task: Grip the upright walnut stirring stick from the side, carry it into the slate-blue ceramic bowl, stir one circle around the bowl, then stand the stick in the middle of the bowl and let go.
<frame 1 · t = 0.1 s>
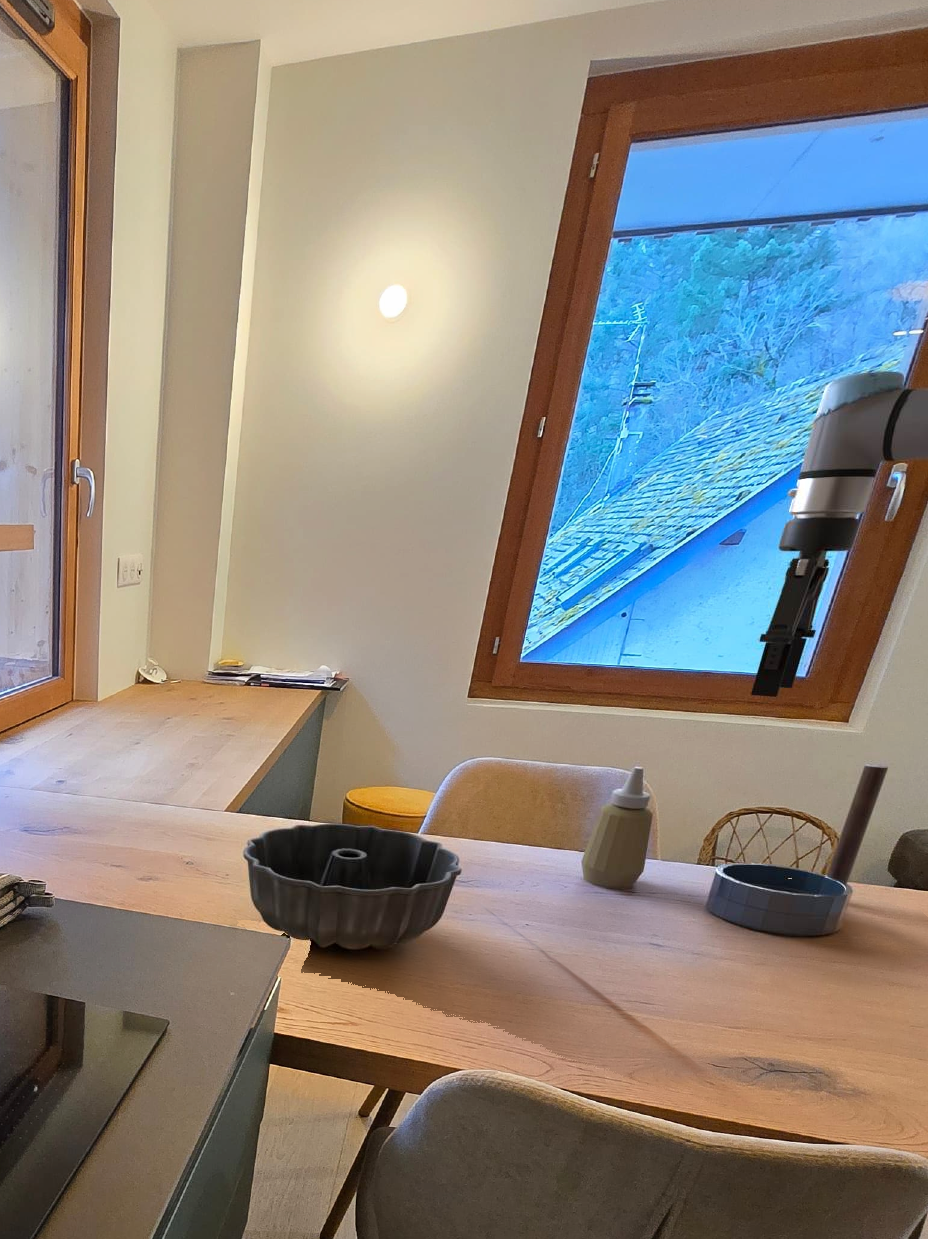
hand: (771, 691, 128), 29 cm above the table, tool pointing down, fingers open, 13 cm apart
bundt pan: (339, 925, 126), on the table
squeeze bottle: (605, 888, 141), on the table
bowl: (768, 921, 129), on the table
stirring stick: (826, 908, 134), on the table
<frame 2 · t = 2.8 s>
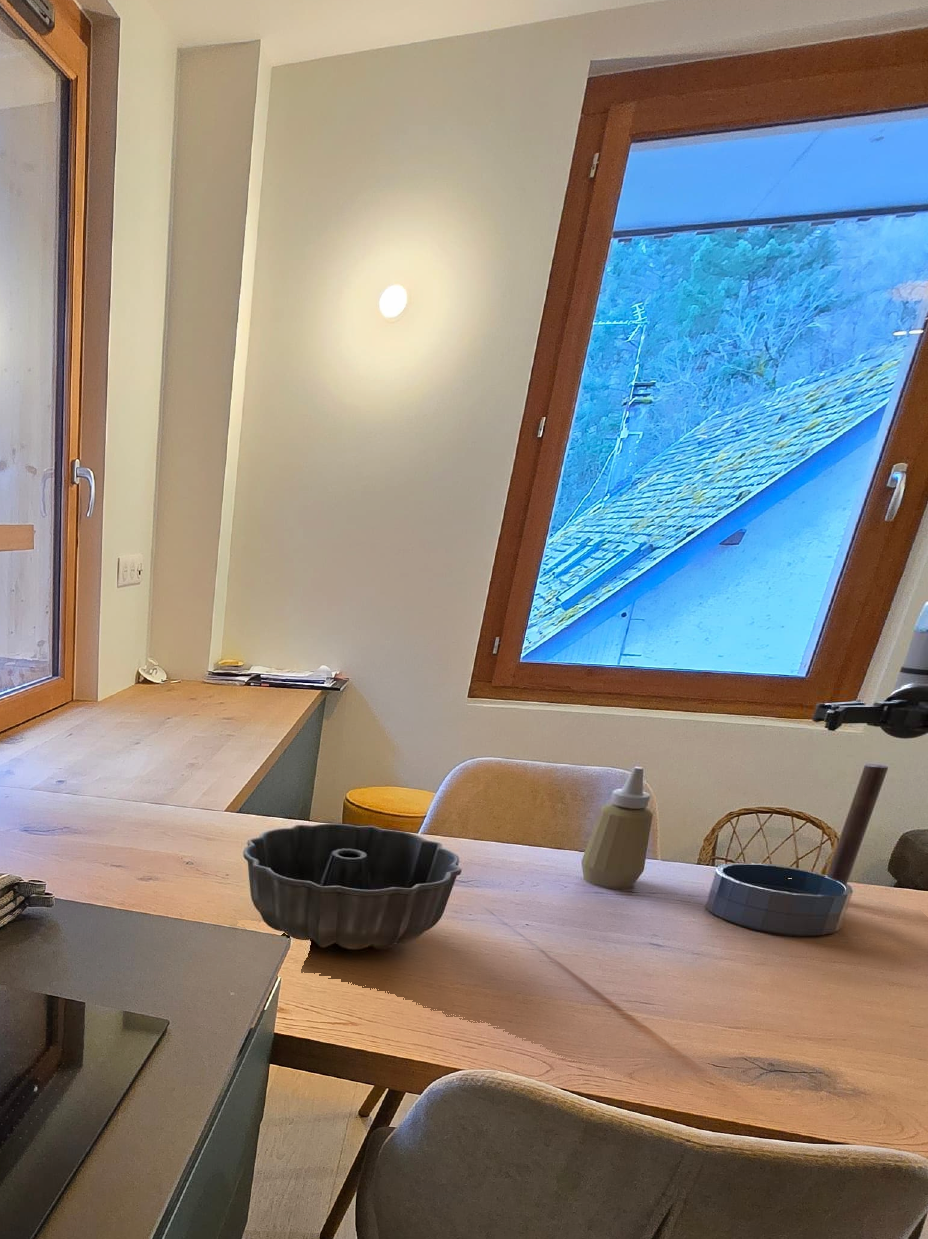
hand: (896, 727, 130), 24 cm above the table, tool horizontal, fingers open, 13 cm apart
nothing on the table moved.
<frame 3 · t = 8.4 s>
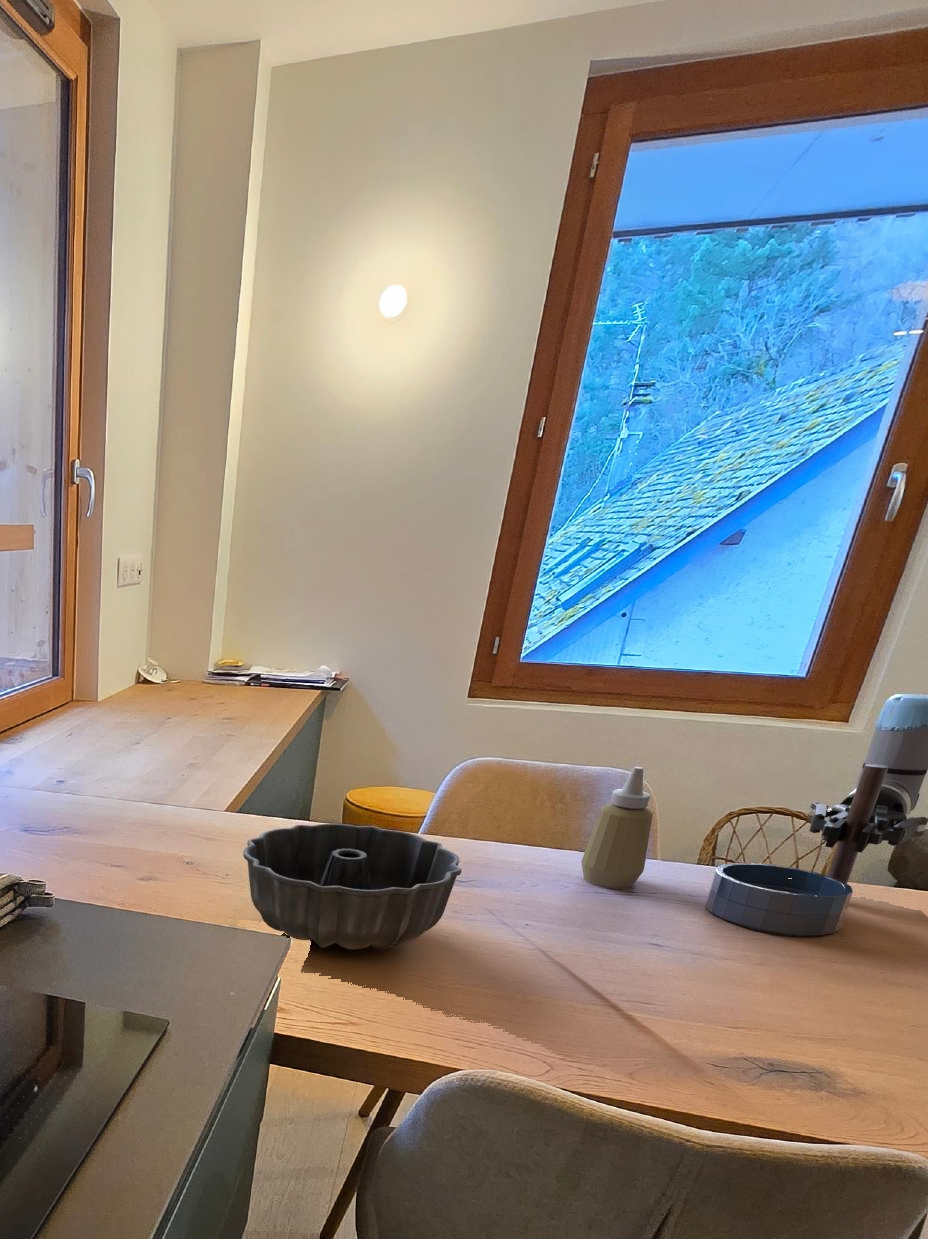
hand: (846, 839, 126), 11 cm above the table, tool horizontal, fingers closed on stirring stick, 2 cm apart
stirring stick: (826, 908, 134), on the table, touching gripper
everything else where it was.
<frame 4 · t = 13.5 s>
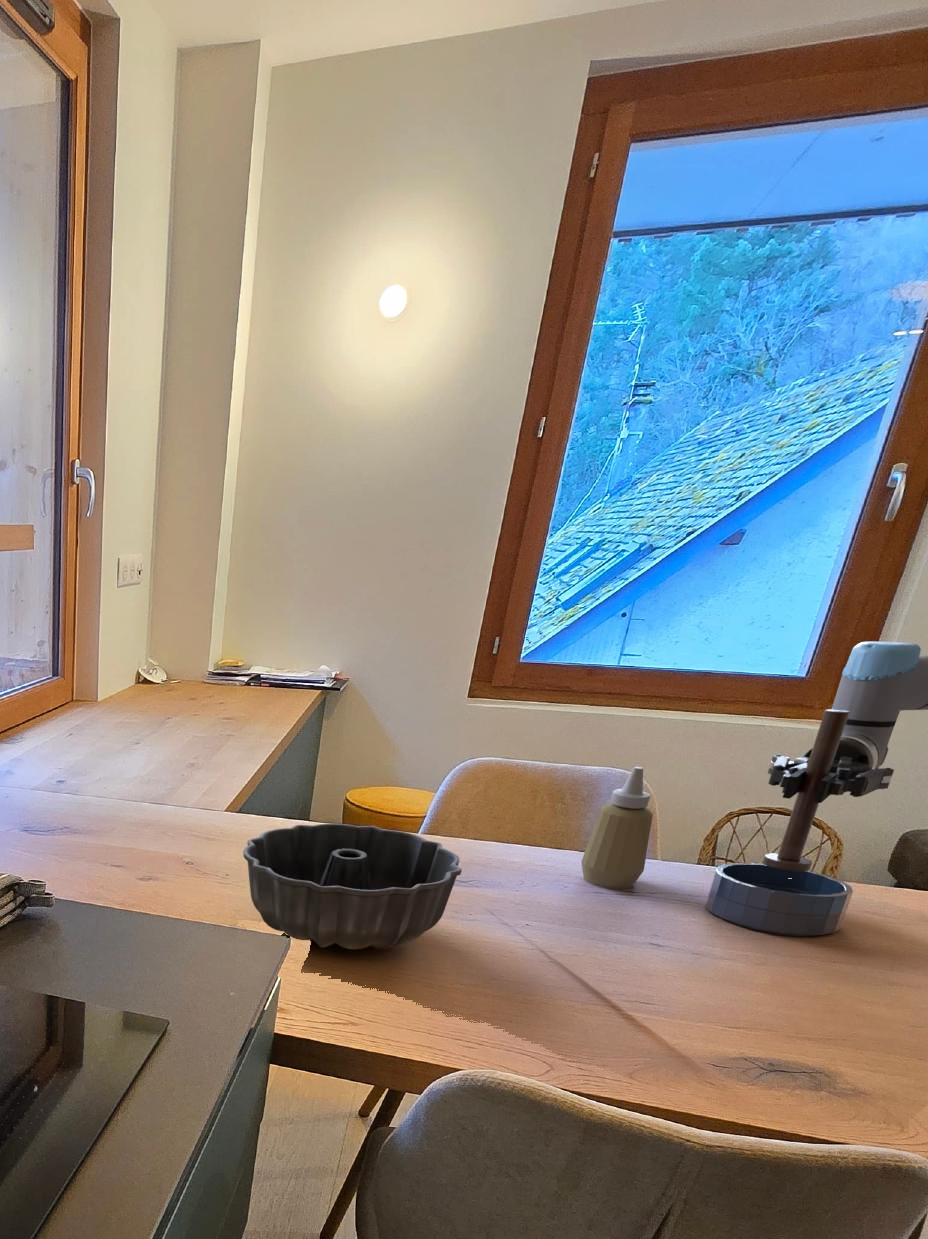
hand: (805, 789, 118), 19 cm above the table, tool horizontal, fingers closed on stirring stick, 2 cm apart
stirring stick: (786, 865, 126), point 8 cm above the table, touching gripper
everything else where it was.
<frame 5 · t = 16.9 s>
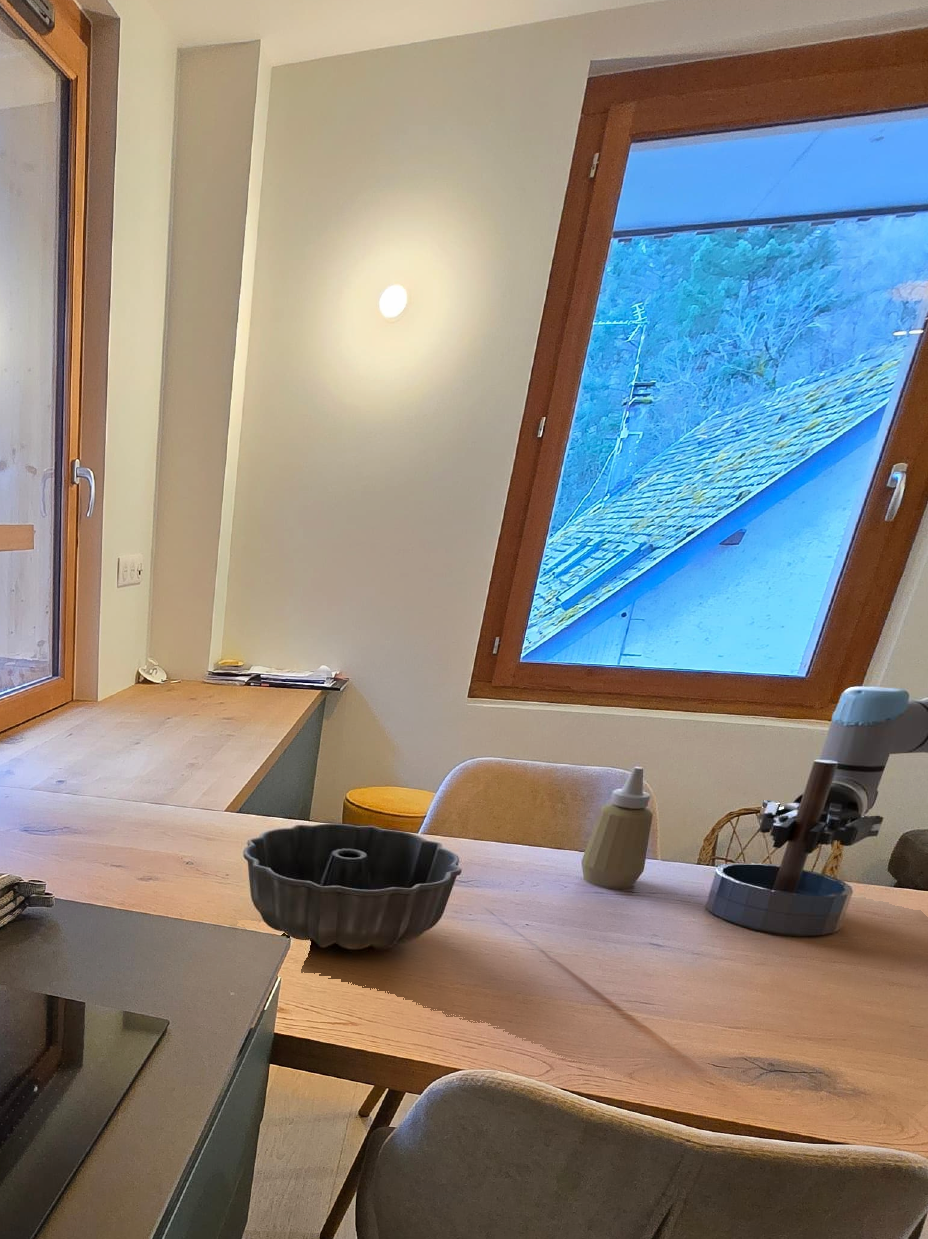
hand: (794, 839, 119), 13 cm above the table, tool horizontal, fingers closed on stirring stick, 2 cm apart
stirring stick: (776, 912, 126), point 2 cm above the table, touching gripper
everything else where it was.
when the fingers open (12 cm above the table, at t = 19.1 s): stirring stick stays where it is, resting on bowl.
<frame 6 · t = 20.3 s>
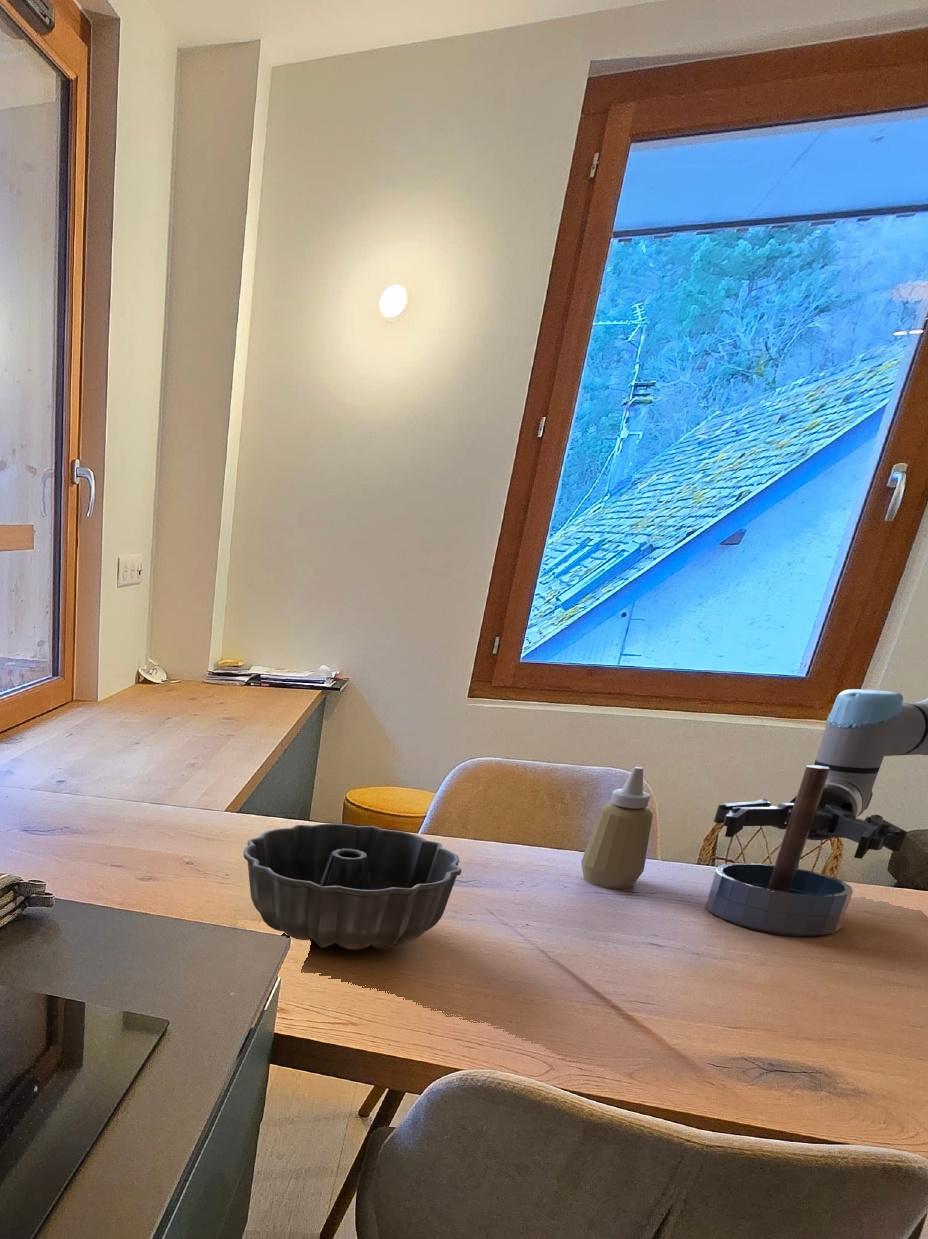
hand: (793, 837, 122), 12 cm above the table, tool horizontal, fingers open, 13 cm apart
stirring stick: (769, 915, 129), point 1 cm above the table, touching bowl
everything else where it was.
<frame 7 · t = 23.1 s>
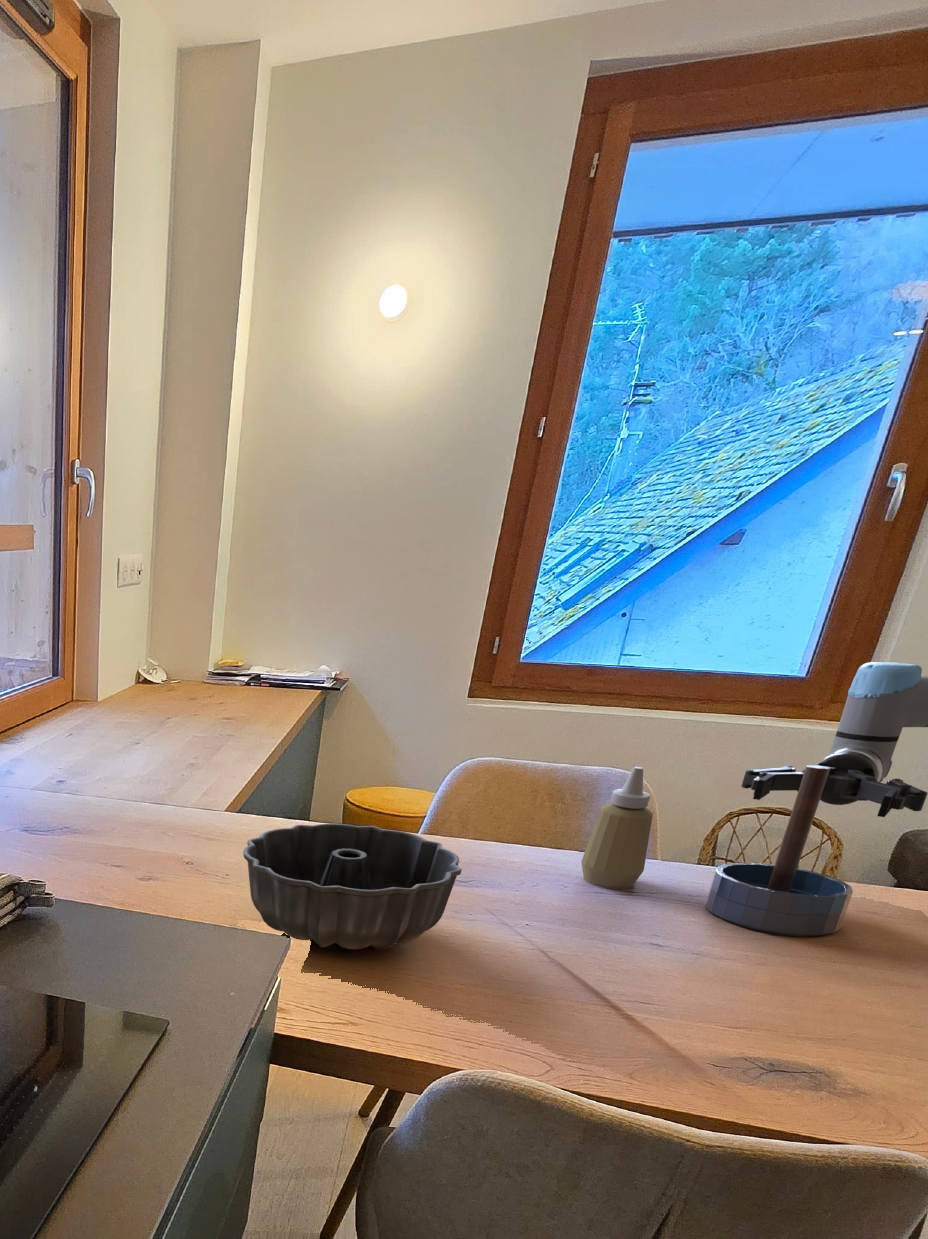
hand: (819, 798, 129), 15 cm above the table, tool horizontal, fingers open, 13 cm apart
nothing on the table moved.
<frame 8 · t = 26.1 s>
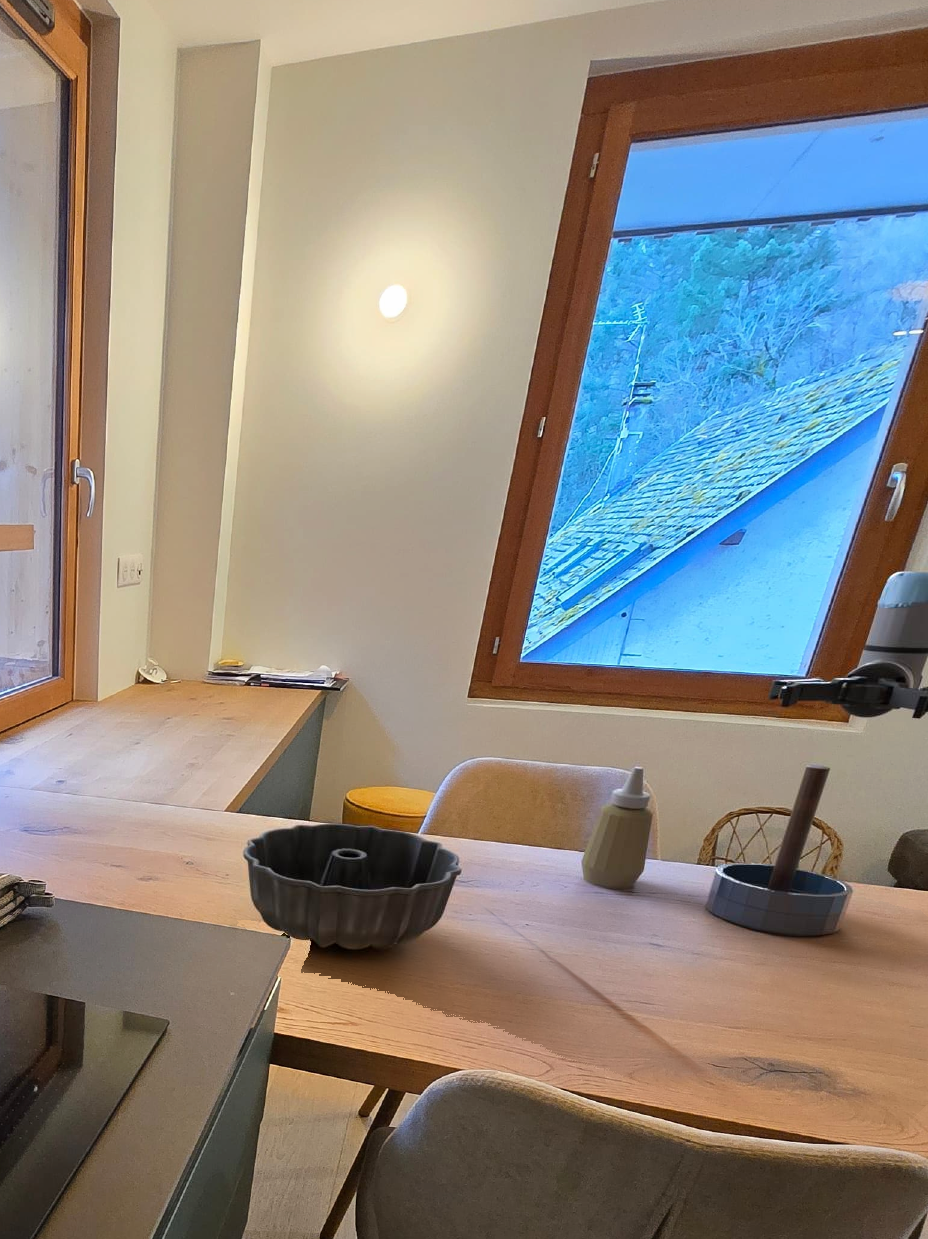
hand: (851, 701, 124), 28 cm above the table, tool horizontal, fingers open, 13 cm apart
nothing on the table moved.
at the end: stirring stick inside the target area in the bowl (0.1 cm from its centre), point 0.8 cm above the bowl's base; stirring stick tilted 0°; the gripper is holding nothing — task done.
